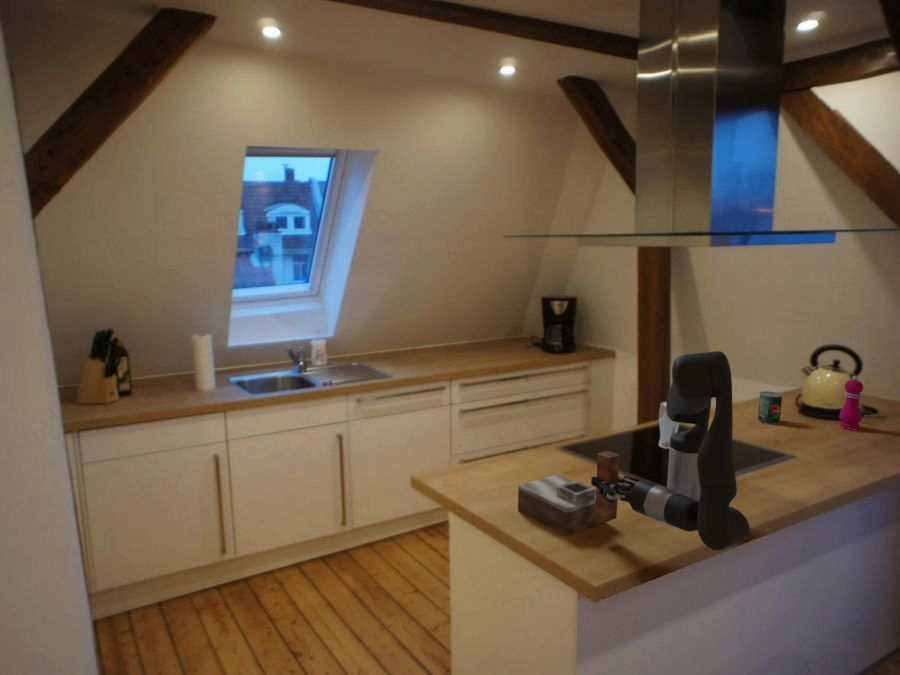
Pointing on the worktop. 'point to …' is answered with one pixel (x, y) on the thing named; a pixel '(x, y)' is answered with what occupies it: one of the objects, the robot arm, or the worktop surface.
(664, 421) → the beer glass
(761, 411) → the canned tomato
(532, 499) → the gray socket block
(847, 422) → the pepper mill
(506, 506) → the worktop surface
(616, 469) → the wooden key
